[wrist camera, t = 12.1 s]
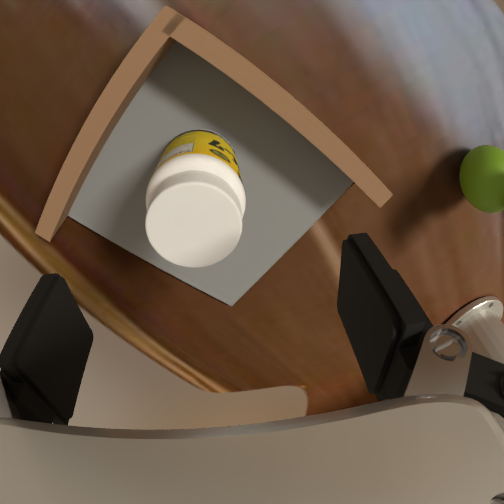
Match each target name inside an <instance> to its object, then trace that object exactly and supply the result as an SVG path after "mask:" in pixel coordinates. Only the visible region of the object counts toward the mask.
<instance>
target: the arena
mask: <svg viewBox="0 0 504 504" xmlns="http://www.w3.org/2000/svg"><path fill="white" fill-rule="evenodd" d="M192 129H207V130H211V131H214V132H216V133H218V134H219V135H221V136H222V137H224V138H225V139H226V140H227V141H228V142H229V143H230V145H231V146H232V148H233V150H234V152H235V154H236V158H237V162H238V166H239V170H240V174H241V178H242V182H243V186H244V190H245V196H246V206H245V212H244V215H243V218H242V233H241V237H240V239H239V242H238V244H237V246H236V247H235V249H234V250H233V251H232V252H231V253H230V254H229V255H228V256H227V257H225V258H224V259H223V260H221V261H219V262H217V263H215V264H213V265H209V266H205V267H198V268H191V267H184V266H180V265H176V264H174V263H172V262H169V261H168V260H166V259H164V258H163V257H162V256H160V255H159V254H158V253H157V252H156V250H155V249H154V248H153V247H152V245H151V244H150V242H149V239H148V237H147V234H146V228H145V219H146V214H147V209H146V192H147V187H148V184H149V181H150V179H151V177H152V175H153V173H154V171H155V169H156V167H157V165H158V162H159V160H160V158H161V156H162V154H163V152H164V150H165V148H166V147H167V145H168V144H169V143H170V141H171V140H172V139H173V138H175V137H176V136H177V135H179V134H181V133H183V132H185V131H188V130H192ZM354 182H355V183H356V184H357V185H358V186H359V187H360V188H361V189H362V190H363V191H364V192H365V193H366V194H367V195H368V196H369V197H370V198H371V199H372V200H373V201H374V202H375V203H376V204H377V205H378V206H379V207H380V208H381V207H382V206H383V205H384V204H385V203H386V202H387V201H388V200H389V199H390V197H391V196H392V195H393V194H392V193H391V192H390V191H389V190H388V189H387V187H386V186H385V185H384V184H383V183H382V182H381V181H380V180H379V179H378V178H377V177H376V176H375V175H374V173H373V172H372V171H371V170H370V169H369V168H368V167H367V166H366V165H365V164H364V163H363V162H362V161H361V160H360V159H359V158H358V157H357V156H356V155H355V154H354V153H353V152H352V151H351V150H350V149H349V148H348V147H347V146H346V145H345V144H344V143H343V142H342V141H341V140H340V139H339V138H338V137H337V136H336V135H335V134H334V133H333V132H332V131H330V130H329V129H328V128H327V127H326V126H325V125H324V124H323V123H322V122H321V121H320V120H319V119H317V118H316V117H315V116H314V115H313V114H312V113H311V112H310V111H309V110H307V109H306V108H305V107H304V106H303V105H302V104H301V103H300V102H298V101H297V100H296V99H295V98H294V97H293V96H291V95H290V94H289V93H288V92H287V91H285V90H284V89H283V88H282V87H281V86H279V85H278V84H277V83H276V82H275V81H273V80H272V79H271V78H270V77H268V76H267V75H266V74H265V73H263V72H262V71H261V70H259V69H258V68H257V67H256V66H254V65H253V64H252V63H250V62H249V61H248V60H246V59H245V58H244V57H242V56H241V55H240V54H238V53H237V52H236V51H234V50H233V49H232V48H230V47H229V46H227V45H226V44H225V43H223V42H222V41H220V40H219V39H217V38H216V37H215V36H213V35H212V34H210V33H209V32H207V31H206V30H204V29H203V28H201V27H200V26H198V25H197V24H195V23H194V22H192V21H191V20H189V19H187V18H186V17H184V16H183V15H181V14H179V13H178V12H176V11H175V10H173V9H171V8H170V7H168V6H165V7H164V8H163V9H162V11H161V12H160V13H159V14H158V15H157V17H156V18H155V19H154V20H153V21H152V23H151V24H150V25H149V26H148V28H147V29H146V30H145V32H144V33H143V34H142V36H141V37H140V38H139V39H138V41H137V42H136V43H135V45H134V46H133V48H132V49H131V50H130V52H129V53H128V55H127V56H126V57H125V59H124V60H123V62H122V63H121V65H120V66H119V68H118V69H117V70H116V72H115V73H114V75H113V77H112V78H111V80H110V81H109V83H108V84H107V86H106V87H105V89H104V91H103V92H102V94H101V95H100V97H99V99H98V100H97V102H96V104H95V105H94V107H93V109H92V111H91V112H90V114H89V116H88V118H87V119H86V121H85V123H84V125H83V127H82V128H81V130H80V132H79V134H78V136H77V138H76V140H75V142H74V144H73V146H72V148H71V150H70V152H69V154H68V156H67V158H66V160H65V162H64V164H63V166H62V168H61V170H60V172H59V175H58V177H57V179H56V181H55V184H54V186H53V188H52V191H51V193H50V195H49V198H48V200H47V203H46V205H45V208H44V210H43V213H42V215H41V218H40V220H39V223H38V226H37V229H36V231H35V233H36V234H37V235H39V236H41V237H42V238H44V239H46V240H47V241H49V242H50V241H51V239H52V238H53V236H54V235H55V233H56V232H57V230H58V229H59V227H60V226H61V224H62V223H63V222H64V220H65V219H66V217H67V216H69V217H71V218H73V219H74V220H76V221H78V222H79V223H81V224H83V225H84V226H86V227H88V228H89V229H91V230H93V231H95V232H96V233H98V234H100V235H101V236H103V237H105V238H107V239H108V240H110V241H112V242H113V243H115V244H117V245H119V246H120V247H122V248H124V249H126V250H127V251H129V252H131V253H133V254H135V255H136V256H138V257H140V258H142V259H144V260H145V261H147V262H149V263H151V264H153V265H154V266H156V267H158V268H160V269H162V270H164V271H165V272H167V273H169V274H171V275H173V276H175V277H177V278H178V279H180V280H182V281H184V282H186V283H188V284H190V285H192V286H194V287H195V288H197V289H199V290H201V291H203V292H205V293H207V294H209V295H211V296H213V297H215V298H217V299H219V300H221V301H223V302H224V303H226V304H228V305H230V306H232V305H233V304H234V303H235V302H236V301H237V300H238V299H239V298H240V297H241V296H242V295H243V294H244V293H245V292H246V291H247V290H248V289H249V288H250V287H251V286H253V285H254V284H255V283H256V282H257V281H258V280H259V279H260V278H261V277H262V276H263V275H264V274H265V273H266V272H267V271H268V270H269V269H270V268H271V267H272V266H273V265H274V263H275V262H276V261H277V260H278V259H279V258H280V257H281V256H282V255H283V254H284V253H285V252H286V251H287V250H288V249H289V248H290V247H291V246H292V245H293V244H294V243H295V242H296V241H297V240H298V239H299V238H300V237H301V236H302V235H303V234H304V233H305V232H306V231H307V230H308V229H309V228H310V227H311V226H312V225H313V224H314V223H315V222H316V221H317V220H318V219H319V218H320V217H321V216H322V215H323V214H324V213H325V212H326V211H327V210H328V208H329V207H330V206H331V205H332V204H333V203H334V202H335V201H336V200H337V199H338V198H339V197H340V196H341V195H342V194H343V193H344V192H345V191H346V190H347V189H348V188H349V187H350V186H351V185H352V184H353V183H354Z"/></svg>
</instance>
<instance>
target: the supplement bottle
mask: <svg viewBox="0 0 504 504" xmlns="http://www.w3.org/2000/svg"><path fill="white" fill-rule="evenodd" d="M245 206H246V196H245V190H244V186H243V182H242V178H241V174H240V170H239V166H238V162H237V158H236V154H235V152H234V150H233V148H232V146H231V145H230V143H229V142H228V141H227V140H226V139H225V138H224V137H222V136H221V135H219V134H218V133H216V132H214V131H211V130H207V129H192V130H188V131H185V132H183V133H181V134H179V135H177V136H176V137H175V138H173V139H172V140H171V141H170V143H169V144H168V145H167V147H166V148H165V150H164V152H163V154H162V156H161V158H160V160H159V162H158V165H157V167H156V169H155V171H154V173H153V175H152V177H151V179H150V181H149V184H148V187H147V192H146V209H147V214H146V219H145V228H146V234H147V237H148V239H149V242H150V244H151V245H152V247H153V248H154V249H155V250H156V252H157V253H158V254H159V255H160V256H162V257H163V258H164V259H166V260H168V261H169V262H172V263H174V264H176V265H180V266H184V267H191V268H198V267H205V266H209V265H213V264H215V263H217V262H219V261H221V260H223V259H224V258H225V257H227V256H228V255H229V254H230V253H231V252H232V251H233V250H234V249H235V247H236V246H237V244H238V242H239V239H240V237H241V233H242V218H243V215H244V212H245Z"/></svg>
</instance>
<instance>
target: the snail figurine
mask: <svg viewBox="0 0 504 504" xmlns="http://www.w3.org/2000/svg"><path fill="white" fill-rule="evenodd" d="M459 180H460V186H461V189H462V191H463V194H464V195H465V197H466V199H467V200H468V201H469V202H470V203H471V204H472V205H473V206H474V207H476V208H477V209H479V210H481V211H484V212H489V213H494V212H499V211H502V210H504V151H503V150H501V149H499V148H497V147H495V146H490V145H482V146H478V147H476V148H474V149H472V150H471V151H470V152H469V153H468V154H467V155H466V156H465V157H464V159H463V161H462V163H461V166H460V172H459Z"/></svg>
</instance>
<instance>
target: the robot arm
mask: <svg viewBox="0 0 504 504" xmlns="http://www.w3.org/2000/svg"><path fill="white" fill-rule="evenodd" d="M337 308H338V313H339V315H340V318H341V320H342V323H343V325H344V328H345V330H346V333H347V335H348V338H349V340H350V343H351V345H352V348H353V351H354V353H355V356H356V358H357V361H358V364H359V366H360V369H361V371H362V374H363V377H364V379H365V382H366V385H367V388H368V390H369V392H370V393H371V394H372V393H375V395H376V397H377V400H378V401H380V402H375V403H370V404H365V405H361V406H357V407H352V408H347V409H343V410H338V411H333V412H327V413H322V414H316V415H310V416H305V417H299V418H293V419H286V420H280V421H273V422H265V423H258V424H248V425H238V426H227V427H215V428H199V429H175V430H174V429H172V430H130V429H105V428H90V427H77V426H68V421H69V419H70V418H71V417H72V416H73V412H74V407H75V404H76V399H77V395H78V392H79V388H80V384H81V380H82V377H83V373H84V370H85V366H86V362H87V359H88V356H89V352H90V349H91V346H92V342H93V333H92V330H91V329H90V327H89V325H88V323H87V322H86V320H85V318H84V316H83V314H82V312H81V311H80V309H79V307H78V305H77V303H76V301H75V299H74V297H73V295H72V293H71V291H70V289H69V287H68V285H67V283H66V281H65V279H64V278H63V277H60V275H59V274H56V273H55V274H48V275H43V276H42V277H41V278H40V281H39V282H38V284H37V285H36V287H35V289H34V291H33V292H32V294H31V296H30V297H29V299H28V301H27V303H26V305H25V307H24V308H23V310H22V312H21V314H20V316H19V318H18V319H17V321H16V323H15V325H14V327H13V329H12V331H11V333H10V335H9V337H8V339H7V341H6V343H5V345H4V347H3V349H2V352H1V354H0V368H1V371H0V504H504V324H503V323H502V321H501V317H502V314H503V305H502V303H501V302H500V301H499V299H498V298H496V297H494V296H486V297H482V298H479V299H477V300H475V301H473V302H471V303H470V304H468V305H466V306H465V307H464V308H462V309H461V310H460V311H458V312H457V313H456V314H455V315H454V316H453V317H451V318H450V319H449V320H448V321H447V322H446V323H445V324H439V325H436V326H433V325H432V323H431V322H430V320H429V318H428V317H427V315H426V314H425V312H424V310H423V309H422V307H421V306H420V304H419V303H418V301H417V300H416V298H415V297H414V295H413V294H412V292H411V291H410V289H409V288H408V286H407V285H406V283H405V282H404V280H403V279H402V277H401V276H400V274H399V273H398V272H397V271H396V270H394V269H392V268H391V267H390V265H389V264H388V262H387V261H386V259H385V258H384V256H383V255H382V254H381V252H380V251H379V249H378V248H377V246H376V245H375V244H374V242H373V241H372V239H371V238H370V237H369V235H368V234H367V233H359V234H351V235H349V236H348V238H347V240H343V243H342V254H341V267H340V279H339V289H338V299H337ZM388 398H389V400H385V399H388ZM381 400H385V401H381ZM52 423H53V424H52Z"/></svg>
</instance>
